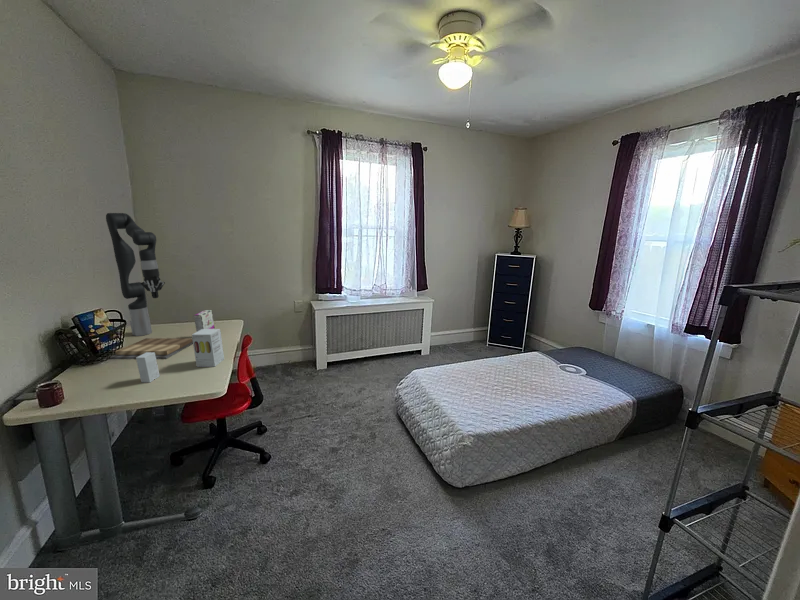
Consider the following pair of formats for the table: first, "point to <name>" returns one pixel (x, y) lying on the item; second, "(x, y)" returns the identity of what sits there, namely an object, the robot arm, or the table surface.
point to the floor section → (159, 341)
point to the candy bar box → (204, 320)
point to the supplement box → (208, 347)
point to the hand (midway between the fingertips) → (155, 297)
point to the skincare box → (147, 367)
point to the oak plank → (147, 349)
